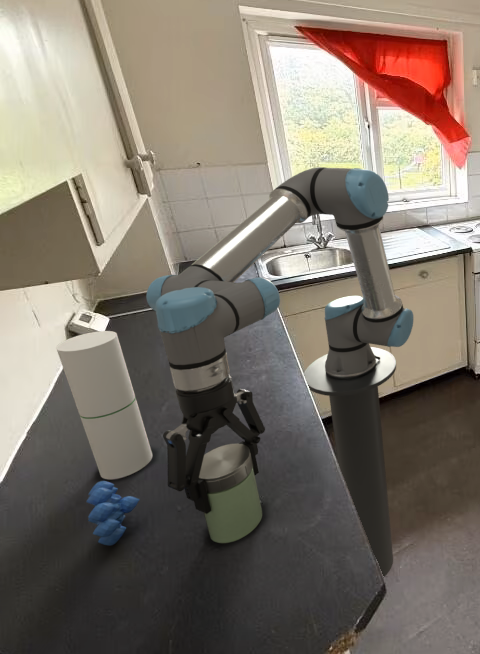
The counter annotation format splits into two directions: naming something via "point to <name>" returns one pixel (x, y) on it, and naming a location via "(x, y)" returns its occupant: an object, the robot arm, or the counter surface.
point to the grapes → (109, 511)
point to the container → (106, 402)
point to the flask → (234, 511)
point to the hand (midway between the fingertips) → (229, 489)
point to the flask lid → (225, 467)
